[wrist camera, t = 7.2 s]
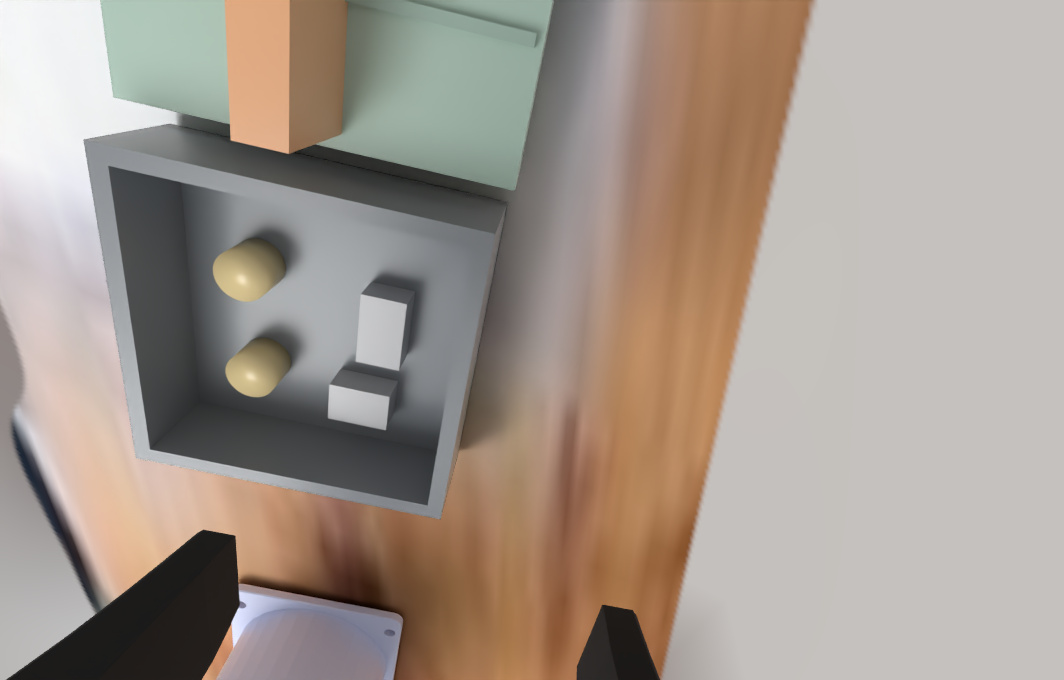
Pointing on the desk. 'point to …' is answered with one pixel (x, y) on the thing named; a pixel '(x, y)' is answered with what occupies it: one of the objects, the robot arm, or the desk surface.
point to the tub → (292, 313)
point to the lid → (344, 74)
